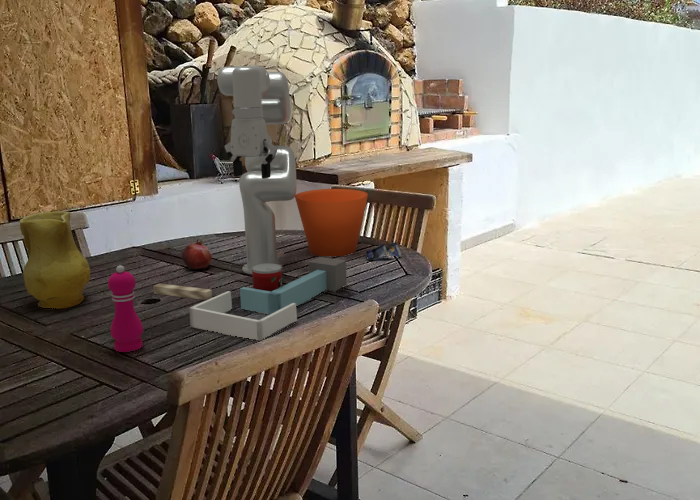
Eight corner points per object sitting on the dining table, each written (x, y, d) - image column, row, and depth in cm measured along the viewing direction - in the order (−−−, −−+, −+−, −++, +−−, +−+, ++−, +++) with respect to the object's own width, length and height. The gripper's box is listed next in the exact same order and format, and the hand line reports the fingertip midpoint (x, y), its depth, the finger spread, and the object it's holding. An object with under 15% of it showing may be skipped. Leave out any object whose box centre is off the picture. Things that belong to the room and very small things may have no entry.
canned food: (276, 312, 185) (274, 272, 183) (249, 309, 188) (246, 270, 185) (287, 302, 192) (286, 264, 190) (261, 300, 195) (259, 262, 192)
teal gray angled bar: (303, 279, 213) (302, 254, 211) (346, 286, 205) (345, 260, 203) (241, 309, 188) (239, 281, 186) (287, 318, 180) (285, 289, 178)
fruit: (177, 271, 225) (174, 240, 222) (194, 263, 233) (192, 234, 231) (201, 273, 221) (199, 243, 219) (217, 265, 230) (215, 236, 227)
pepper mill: (116, 342, 167) (107, 261, 162) (147, 341, 167) (139, 260, 162) (109, 354, 160) (99, 270, 155) (141, 353, 160) (132, 269, 155)
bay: (229, 308, 189) (227, 291, 187) (296, 322, 178) (296, 303, 177) (190, 326, 176) (189, 307, 175) (260, 342, 165) (259, 322, 164)
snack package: (392, 265, 227) (405, 255, 237) (388, 246, 226) (402, 237, 236) (359, 268, 233) (373, 258, 243) (355, 249, 232) (370, 240, 242)
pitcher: (30, 317, 185) (16, 224, 179) (25, 297, 201) (13, 212, 195) (98, 306, 193) (87, 217, 187) (88, 288, 209) (78, 205, 203)
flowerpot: (346, 264, 229) (345, 204, 224) (283, 255, 241) (280, 198, 235) (381, 246, 250) (380, 191, 245) (321, 239, 262) (319, 186, 256)
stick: (212, 298, 199) (211, 289, 198) (207, 301, 196) (206, 292, 196) (159, 292, 205) (158, 283, 204) (154, 294, 203) (153, 286, 202)
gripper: (214, 114, 191) (219, 176, 196) (266, 115, 183) (269, 180, 187) (232, 112, 198) (236, 173, 202) (282, 113, 189) (285, 176, 194)
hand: (252, 176), depth 195 cm, fingers open, 9 cm apart
